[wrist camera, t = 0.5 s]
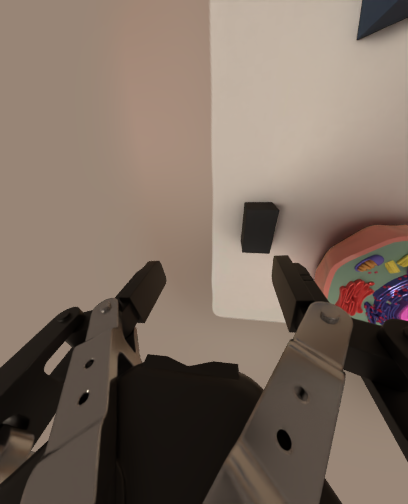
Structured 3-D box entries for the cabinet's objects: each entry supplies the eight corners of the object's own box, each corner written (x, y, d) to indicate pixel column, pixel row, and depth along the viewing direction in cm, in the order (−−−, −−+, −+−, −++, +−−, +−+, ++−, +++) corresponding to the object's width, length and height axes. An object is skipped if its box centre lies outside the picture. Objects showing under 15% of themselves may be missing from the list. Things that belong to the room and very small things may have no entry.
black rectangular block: (244, 202, 22) (246, 209, 19) (272, 202, 22) (279, 209, 18) (240, 240, 26) (242, 252, 22) (264, 241, 25) (269, 253, 22)
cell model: (378, 175, 18) (536, 191, 9) (466, 256, 21) (650, 332, 12) (274, 262, 27) (296, 316, 18) (347, 309, 30) (399, 377, 21)
